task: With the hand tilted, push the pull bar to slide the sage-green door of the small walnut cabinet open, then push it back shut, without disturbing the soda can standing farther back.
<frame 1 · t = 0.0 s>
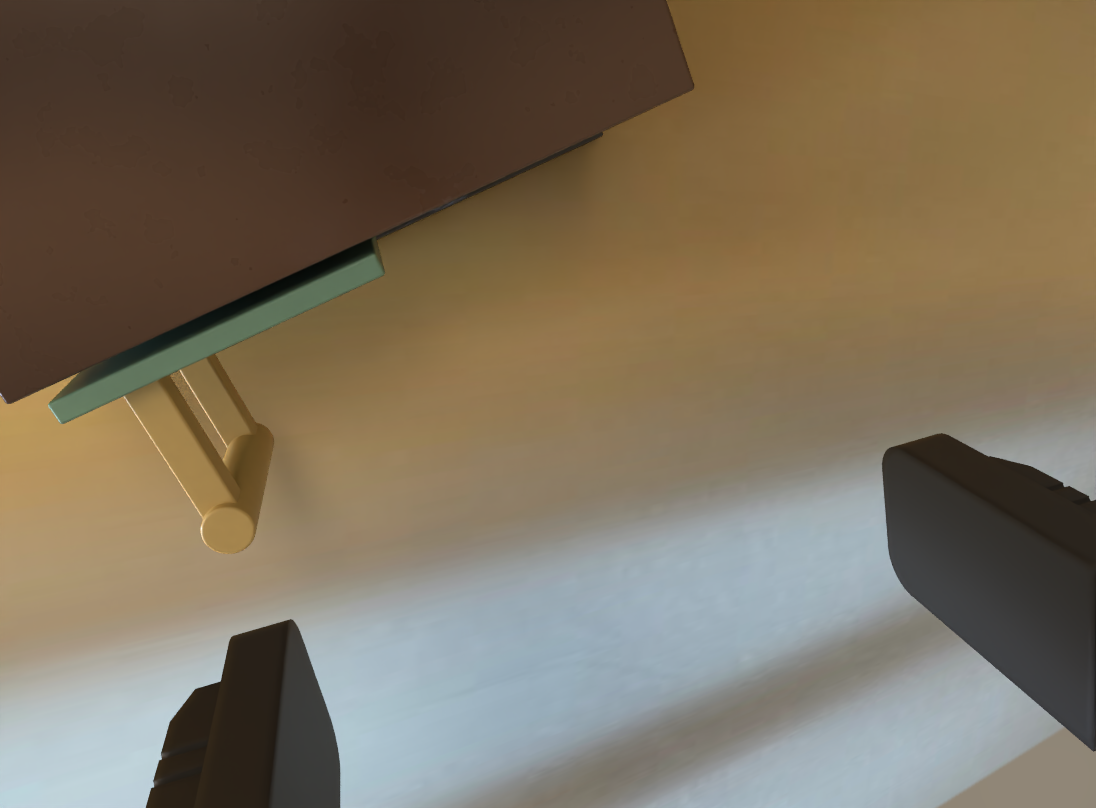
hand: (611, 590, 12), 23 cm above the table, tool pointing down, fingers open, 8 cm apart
cabinet: (278, 44, 30), on the table
door: (283, 376, 27), point 6 cm above the table, slide at 0.0 cm
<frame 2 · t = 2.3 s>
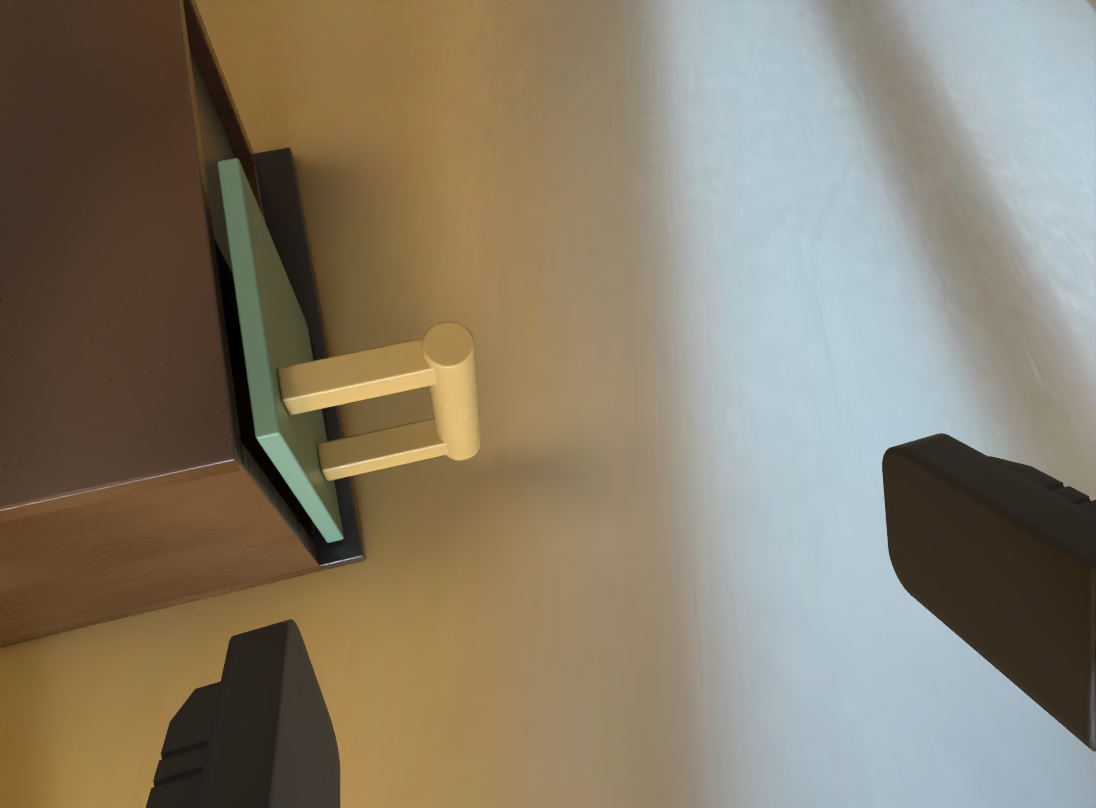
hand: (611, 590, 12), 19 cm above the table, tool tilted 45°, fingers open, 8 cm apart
cabinet: (139, 375, 34), on the table
door: (370, 351, 28), point 6 cm above the table, slide at 0.0 cm
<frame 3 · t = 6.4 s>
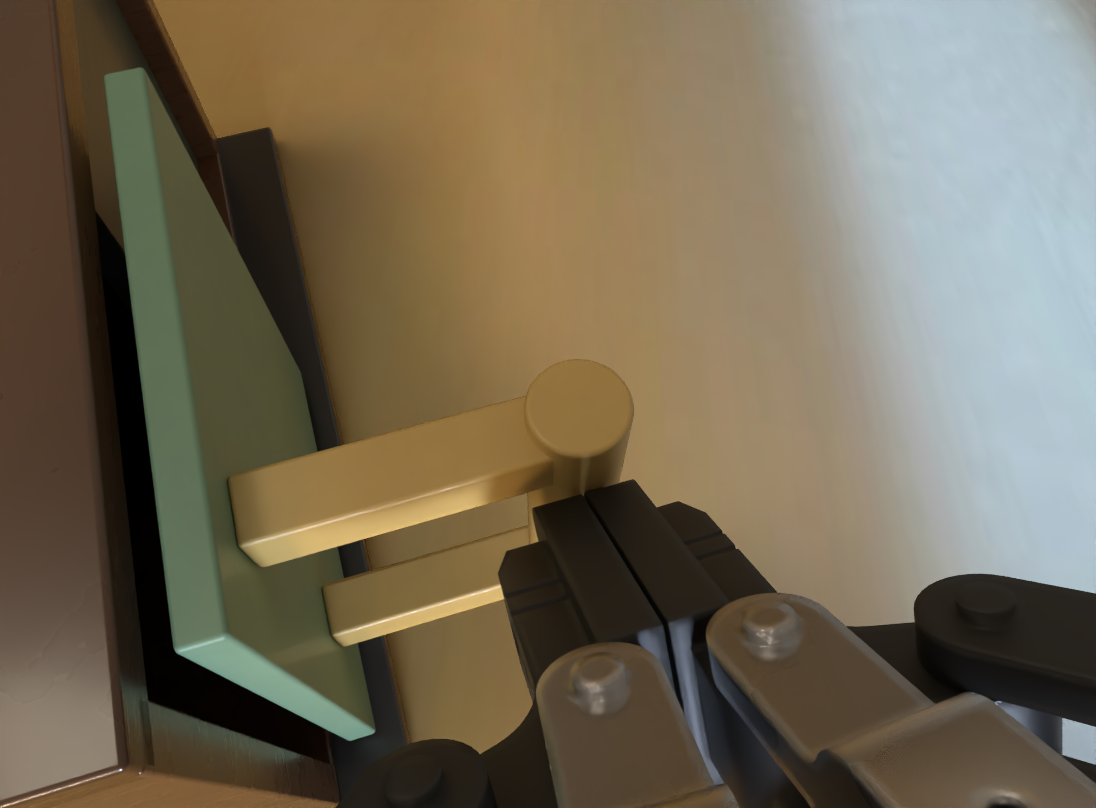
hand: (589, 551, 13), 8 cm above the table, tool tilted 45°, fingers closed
cabinet: (45, 485, 22), on the table
door: (408, 418, 16), point 6 cm above the table, slide at 0.5 cm, touching gripper
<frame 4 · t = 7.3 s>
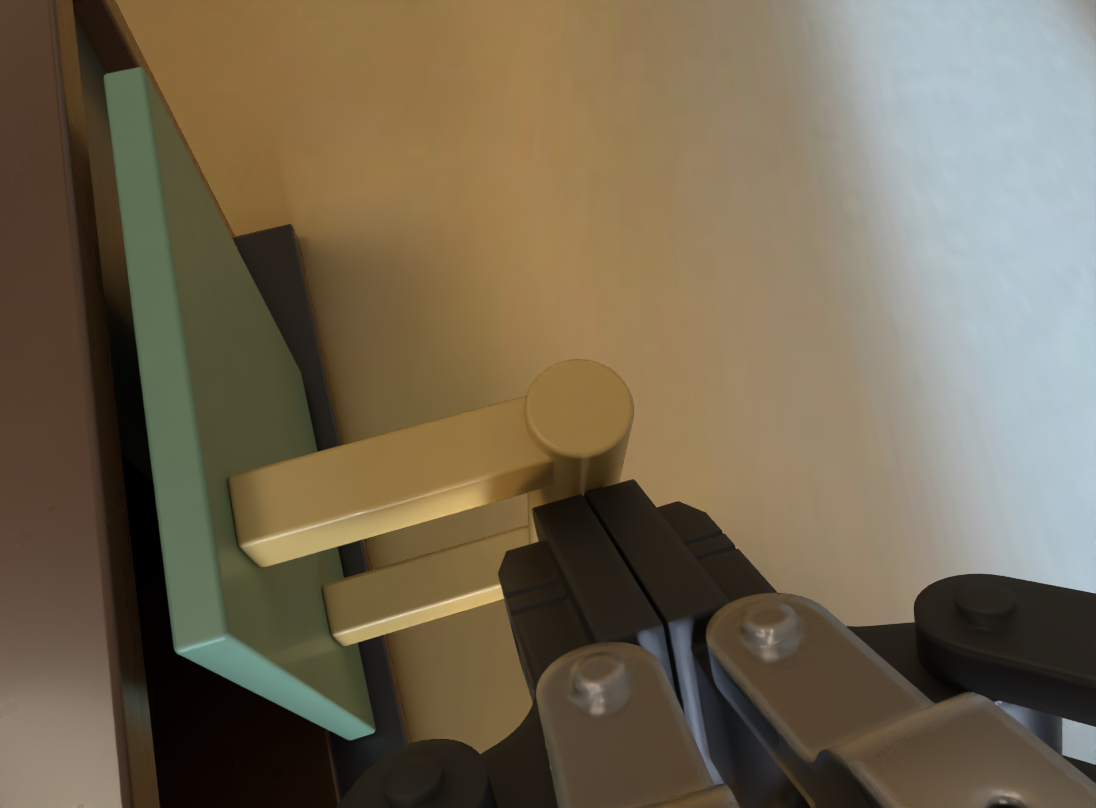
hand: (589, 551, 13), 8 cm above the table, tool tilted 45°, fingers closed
cabinet: (55, 628, 20), on the table
door: (408, 418, 16), point 6 cm above the table, slide at 4.0 cm, touching gripper
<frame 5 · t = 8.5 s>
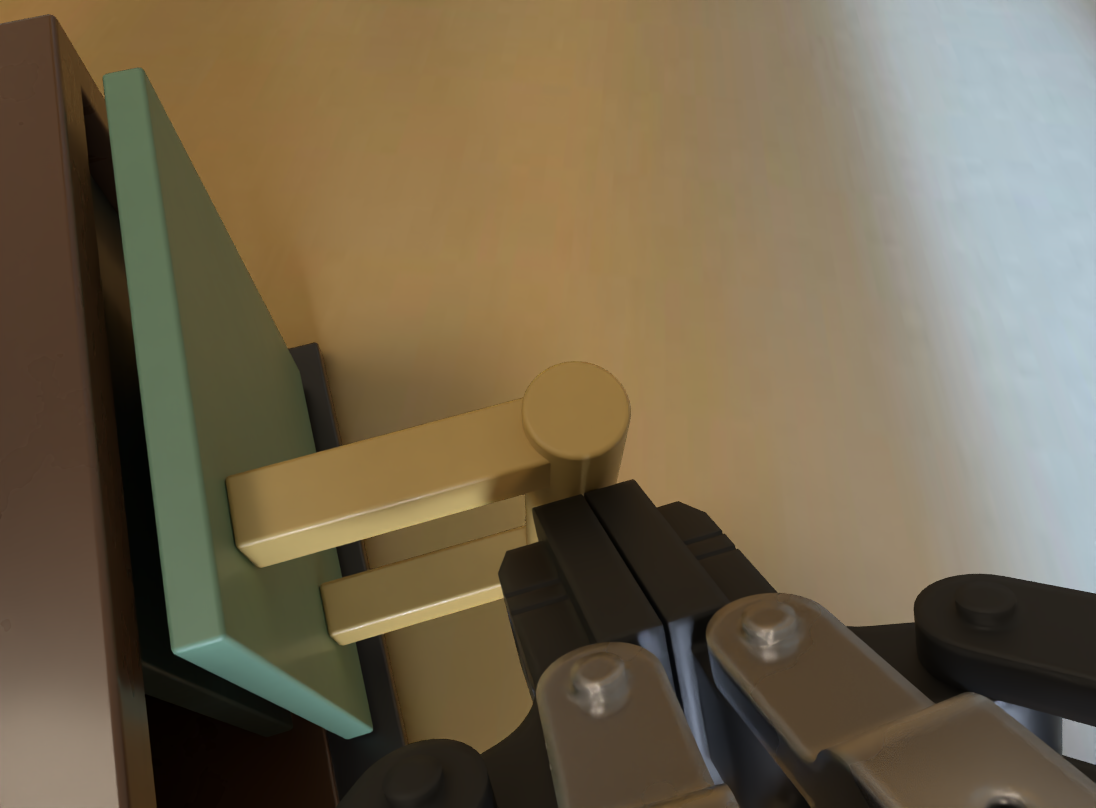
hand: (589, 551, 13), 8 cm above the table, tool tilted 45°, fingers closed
cabinet: (65, 805, 19), on the table
door: (406, 418, 16), point 6 cm above the table, slide at 7.8 cm, touching gripper
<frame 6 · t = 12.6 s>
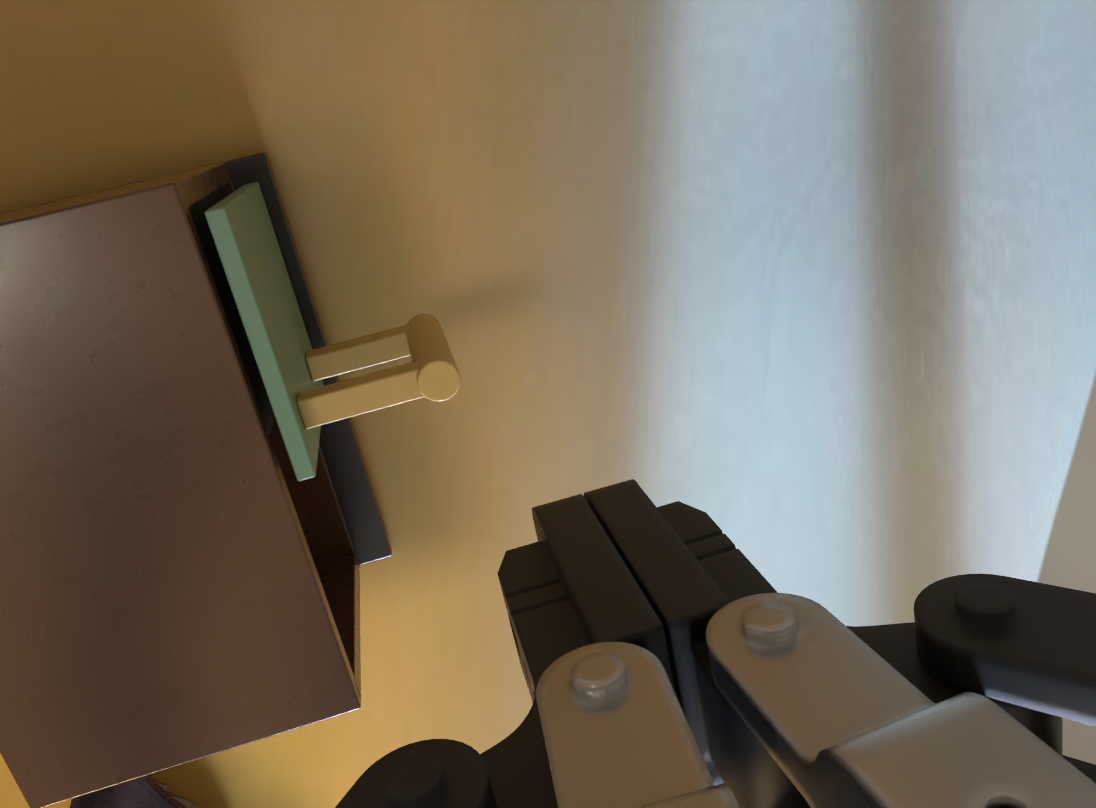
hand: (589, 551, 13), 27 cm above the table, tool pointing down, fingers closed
cabinet: (167, 411, 37), on the table
door: (349, 298, 32), point 6 cm above the table, slide at 7.8 cm
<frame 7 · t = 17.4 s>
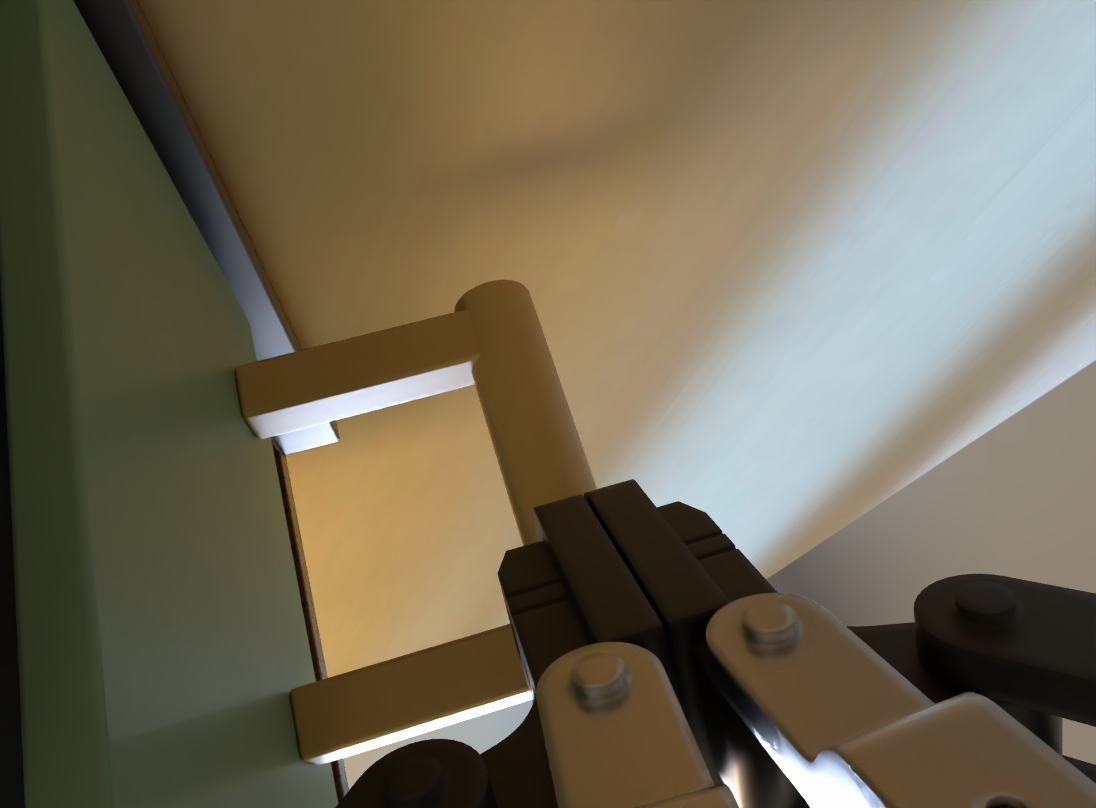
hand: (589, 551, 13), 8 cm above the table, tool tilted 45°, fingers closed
door: (382, 408, 12), point 6 cm above the table, slide at 6.6 cm
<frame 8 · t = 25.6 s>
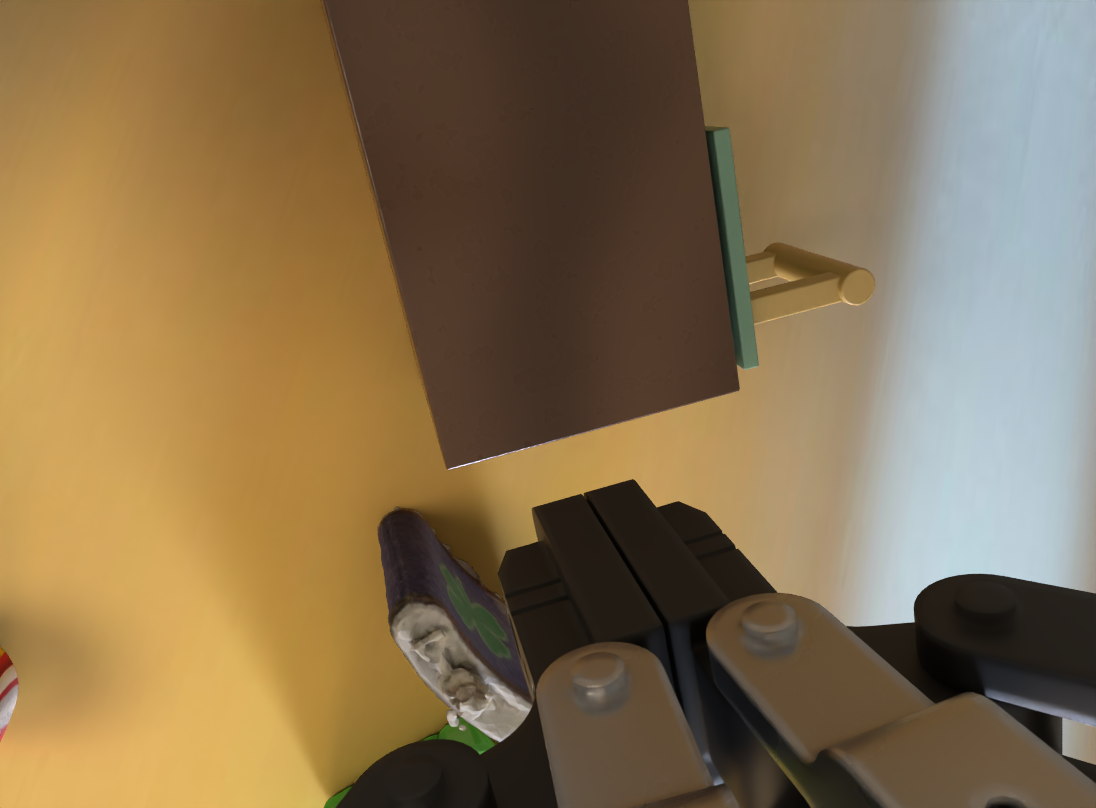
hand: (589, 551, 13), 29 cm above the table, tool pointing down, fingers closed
cabinet: (494, 158, 39), on the table
door: (749, 221, 36), point 6 cm above the table, slide at 0.0 cm
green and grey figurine: (428, 789, 49), on the table
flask: (444, 574, 45), on the table
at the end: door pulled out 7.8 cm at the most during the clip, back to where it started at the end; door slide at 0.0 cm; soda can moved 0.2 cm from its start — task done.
